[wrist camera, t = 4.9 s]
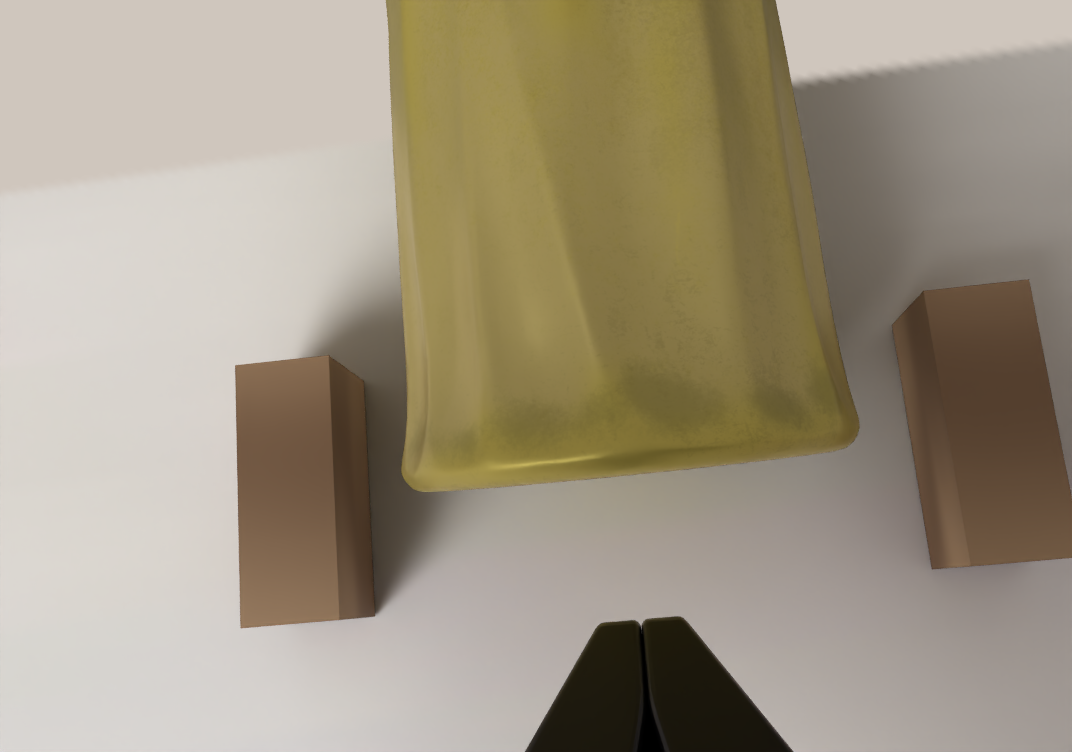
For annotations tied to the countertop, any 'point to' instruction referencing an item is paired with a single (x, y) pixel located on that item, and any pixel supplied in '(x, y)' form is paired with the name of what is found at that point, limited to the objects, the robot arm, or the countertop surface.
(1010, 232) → the countertop surface
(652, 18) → the vase
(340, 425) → the wooden blocks
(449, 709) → the countertop surface
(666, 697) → the robot arm
